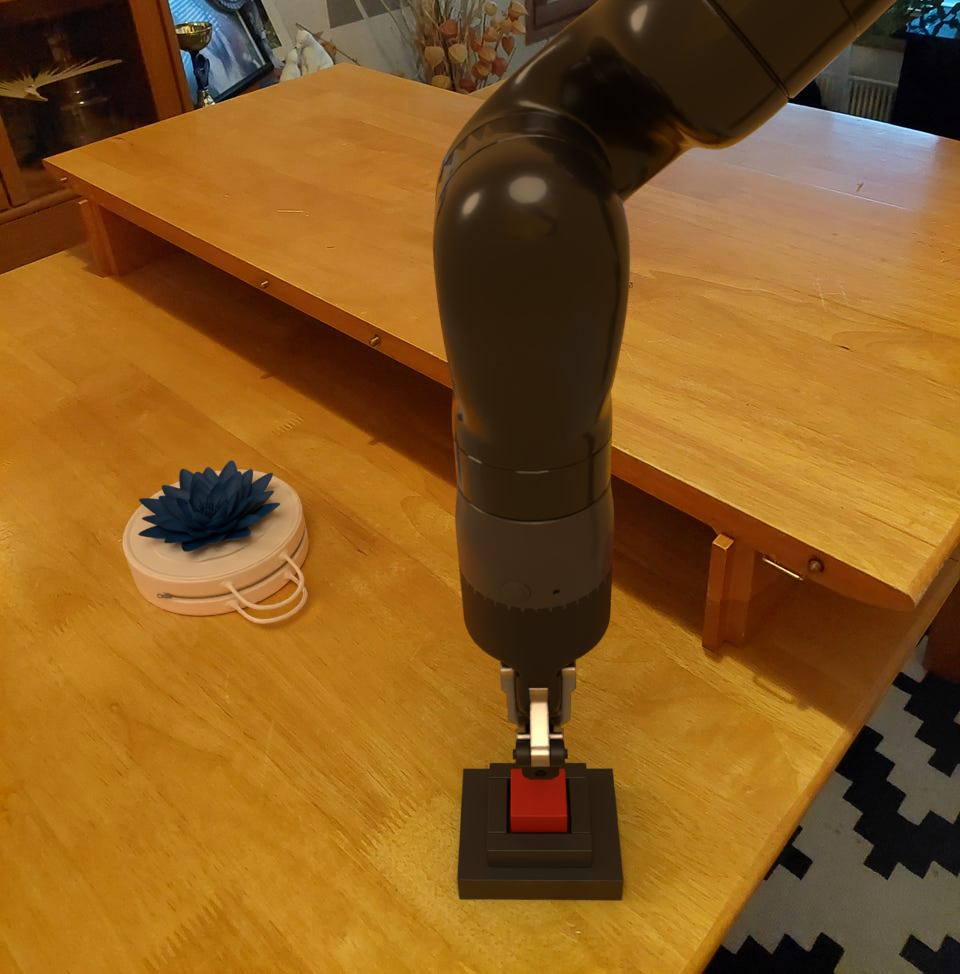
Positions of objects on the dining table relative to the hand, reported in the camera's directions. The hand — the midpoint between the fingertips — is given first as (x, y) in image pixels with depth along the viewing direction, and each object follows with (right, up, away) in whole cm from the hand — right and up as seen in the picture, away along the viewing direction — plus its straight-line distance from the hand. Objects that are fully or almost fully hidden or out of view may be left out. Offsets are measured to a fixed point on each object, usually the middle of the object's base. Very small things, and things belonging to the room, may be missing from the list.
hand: (540, 767), depth 55 cm
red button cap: (0, -3, +3) cm, 4 cm away
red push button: (0, -6, +5) cm, 8 cm away
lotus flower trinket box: (-26, +9, +28) cm, 39 cm away
